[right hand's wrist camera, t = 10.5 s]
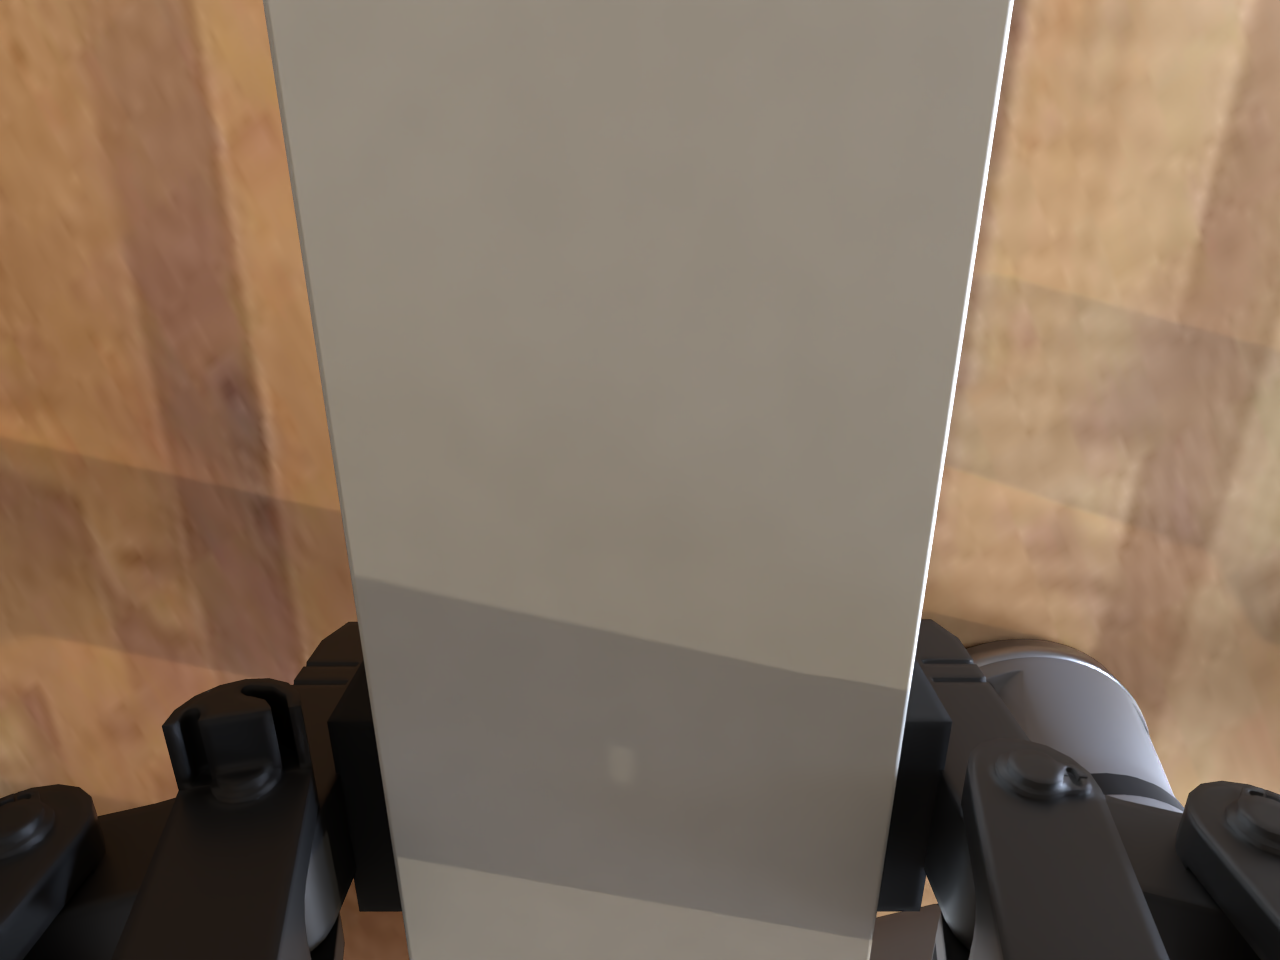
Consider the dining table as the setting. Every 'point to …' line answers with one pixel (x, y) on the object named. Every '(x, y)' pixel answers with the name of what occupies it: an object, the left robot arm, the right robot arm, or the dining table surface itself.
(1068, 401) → the dining table surface
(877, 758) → the bar
